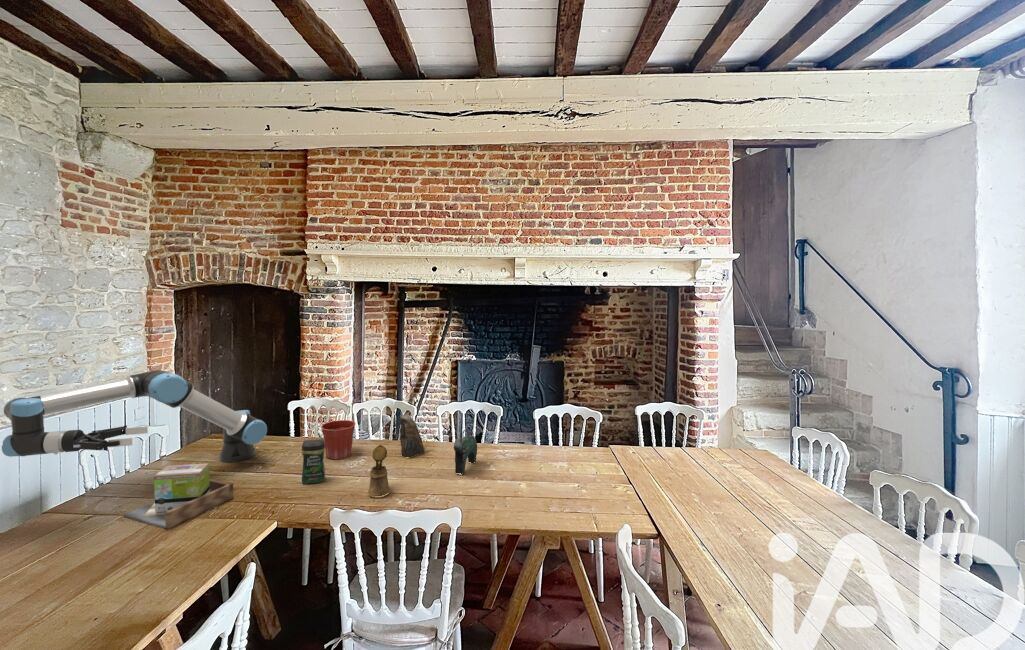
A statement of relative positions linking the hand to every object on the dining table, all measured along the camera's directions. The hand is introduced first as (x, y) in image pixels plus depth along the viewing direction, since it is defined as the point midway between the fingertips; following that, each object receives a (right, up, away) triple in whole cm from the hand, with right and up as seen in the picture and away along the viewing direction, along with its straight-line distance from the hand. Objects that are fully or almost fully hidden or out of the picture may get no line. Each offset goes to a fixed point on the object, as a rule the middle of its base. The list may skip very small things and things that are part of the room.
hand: (140, 435), depth 165 cm
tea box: (+11, -29, +7) cm, 32 cm away
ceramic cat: (+116, -29, +50) cm, 129 cm away
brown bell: (+82, -30, +24) cm, 91 cm away
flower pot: (+50, -26, +62) cm, 84 cm away
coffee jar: (+50, -29, +33) cm, 66 cm away
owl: (+86, -26, +67) cm, 112 cm away
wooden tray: (+10, -30, +7) cm, 32 cm away
